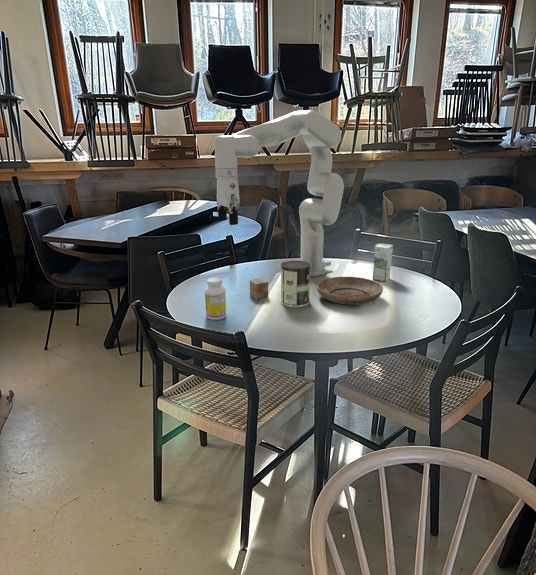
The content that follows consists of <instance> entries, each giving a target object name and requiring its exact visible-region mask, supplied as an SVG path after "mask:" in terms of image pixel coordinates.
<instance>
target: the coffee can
mask: <svg viewBox="0 0 536 575" xmlns="http://www.w3.org/2000/svg"><path fill="white" fill-rule="evenodd" d="M310 266H311V265H310V263H307V262H304V261H300V260H289V261H284V262H282V263H281V264H280V269H281V270H280V271H281V272H280V274H281V275H280V276H281V279H280V281H281V282H280V283H281V284H280V288H281V290H280V292H281V293H280V295H281V297H280V298H281V299H280V303H281V304H282V306H285V307H289V308H304V307H307V306H309V305H310V286H311V285H310V284H311V282H310V281H311V276H310Z"/></svg>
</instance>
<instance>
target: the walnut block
mask: <svg viewBox="0 0 536 575" xmlns="http://www.w3.org/2000/svg"><path fill="white" fill-rule="evenodd" d="M250 295H251V296H252V298H253V297H254V299H255V300H256V299H257V300H262V299H265V297H266V298H269V281H267V280H266V279H263V278H261V277H260V278H257V279H256V278H255V279H251V280H249V296H250ZM251 296H250V297H251ZM261 298H262V299H261Z"/></svg>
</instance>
